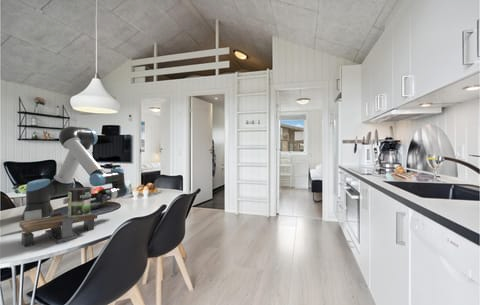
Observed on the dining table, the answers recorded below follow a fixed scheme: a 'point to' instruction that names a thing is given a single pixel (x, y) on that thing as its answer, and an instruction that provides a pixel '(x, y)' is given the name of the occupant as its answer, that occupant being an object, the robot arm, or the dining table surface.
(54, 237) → the pivot stand
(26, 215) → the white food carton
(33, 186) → the robot arm
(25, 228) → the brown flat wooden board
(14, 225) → the dining table surface
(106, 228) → the dining table surface
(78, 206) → the coffee can
